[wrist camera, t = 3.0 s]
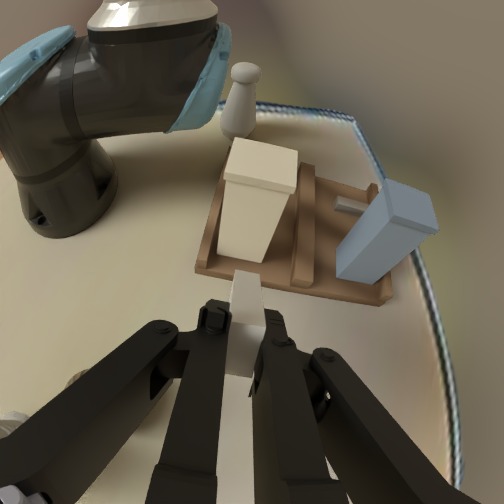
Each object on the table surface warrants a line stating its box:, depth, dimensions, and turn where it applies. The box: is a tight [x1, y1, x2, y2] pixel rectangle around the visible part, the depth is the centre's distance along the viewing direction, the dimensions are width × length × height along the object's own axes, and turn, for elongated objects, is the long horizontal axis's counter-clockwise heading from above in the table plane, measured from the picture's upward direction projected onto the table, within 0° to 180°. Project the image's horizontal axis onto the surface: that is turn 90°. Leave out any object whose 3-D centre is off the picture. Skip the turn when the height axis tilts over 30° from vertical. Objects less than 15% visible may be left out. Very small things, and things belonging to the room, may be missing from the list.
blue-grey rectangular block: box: [336, 178, 439, 285], centre depth 28 cm, size 4×5×13 cm
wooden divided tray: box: [195, 146, 392, 307], centre depth 36 cm, size 18×23×4 cm
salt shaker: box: [220, 62, 261, 140], centre depth 39 cm, size 6×6×13 cm
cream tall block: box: [217, 137, 298, 263], centre depth 27 cm, size 4×5×13 cm
